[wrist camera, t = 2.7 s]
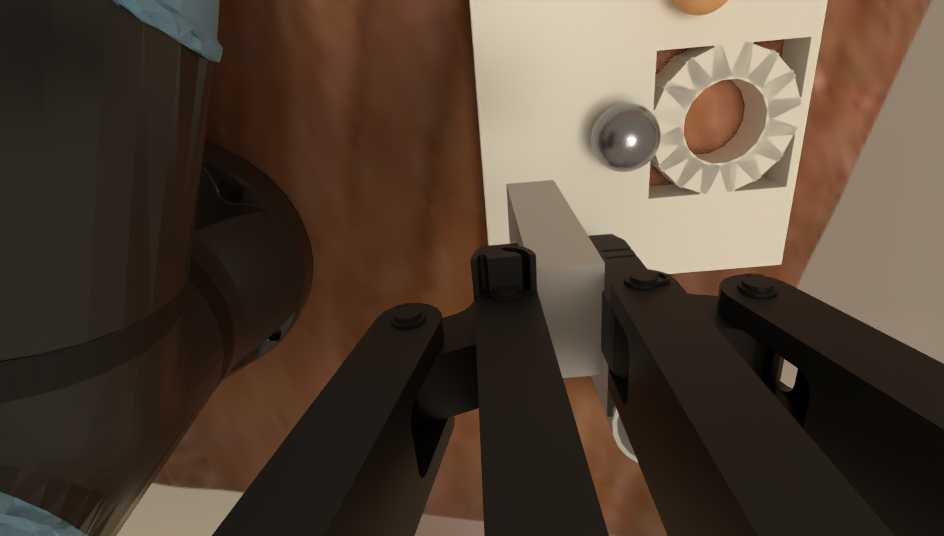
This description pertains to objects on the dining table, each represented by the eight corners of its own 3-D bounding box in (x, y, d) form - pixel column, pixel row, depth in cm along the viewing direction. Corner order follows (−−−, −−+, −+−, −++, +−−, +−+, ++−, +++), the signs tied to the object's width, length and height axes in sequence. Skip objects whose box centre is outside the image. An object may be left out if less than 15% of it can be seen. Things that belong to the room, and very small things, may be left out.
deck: (489, 272, 35) (491, 288, 33) (466, -37, 27) (466, -43, 25) (760, 249, 35) (781, 264, 32) (809, -69, 27) (841, -79, 25)
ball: (584, 166, 30) (599, 182, 26) (584, 102, 28) (600, 111, 25) (646, 160, 29) (668, 176, 26) (649, 96, 28) (673, 104, 25)
